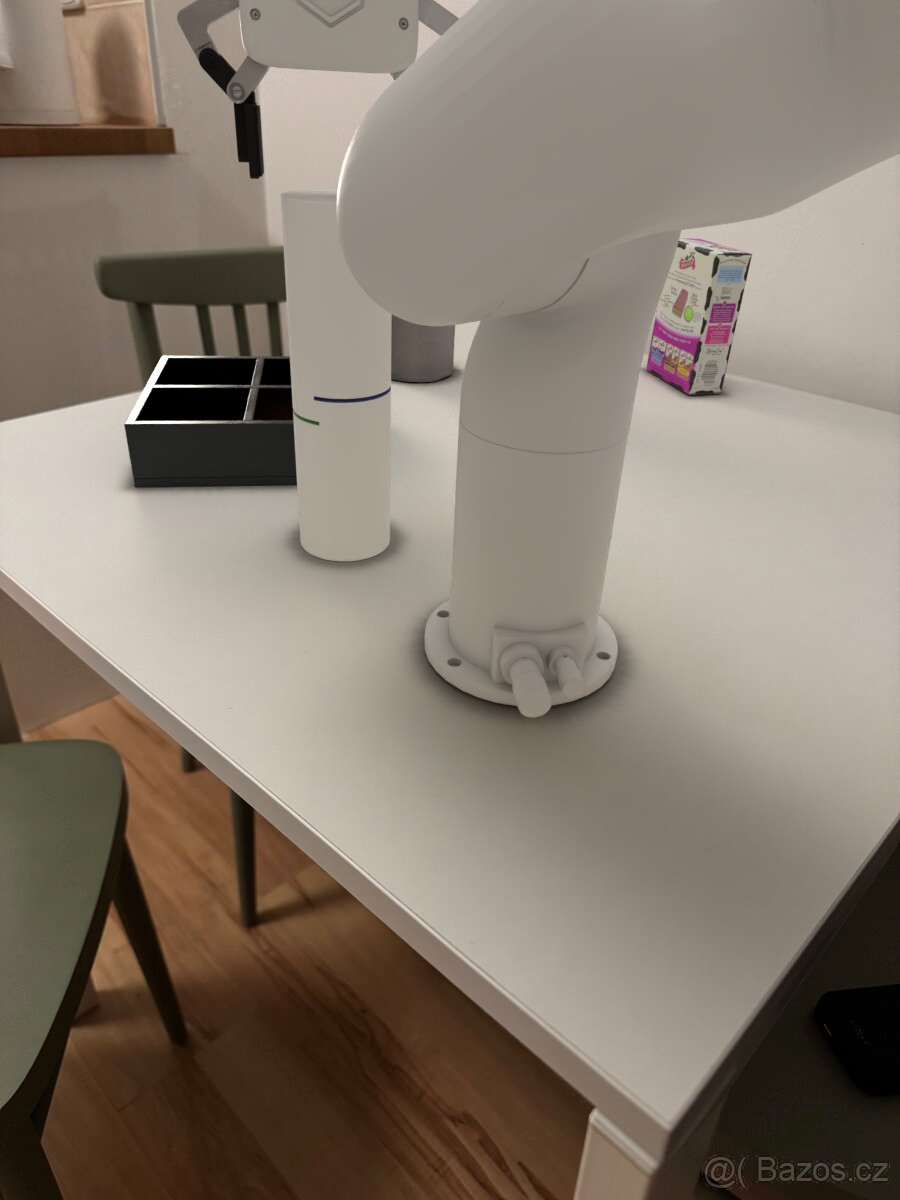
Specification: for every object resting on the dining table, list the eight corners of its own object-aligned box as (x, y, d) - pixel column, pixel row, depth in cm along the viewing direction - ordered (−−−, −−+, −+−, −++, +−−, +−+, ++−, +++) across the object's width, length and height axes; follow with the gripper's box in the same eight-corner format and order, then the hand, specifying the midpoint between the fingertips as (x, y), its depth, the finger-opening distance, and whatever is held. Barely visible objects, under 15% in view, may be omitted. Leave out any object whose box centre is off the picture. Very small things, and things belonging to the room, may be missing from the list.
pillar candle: (373, 360, 110) (372, 237, 102) (446, 360, 111) (451, 238, 103) (381, 384, 101) (381, 251, 94) (460, 382, 103) (467, 252, 95)
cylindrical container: (376, 566, 64) (375, 207, 51) (287, 554, 65) (263, 198, 52) (399, 525, 70) (404, 194, 57) (317, 514, 71) (303, 187, 58)
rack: (366, 483, 77) (366, 422, 74) (134, 487, 74) (123, 424, 71) (358, 408, 94) (357, 356, 91) (169, 409, 91) (162, 355, 88)
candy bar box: (724, 394, 104) (755, 253, 95) (688, 396, 102) (717, 253, 94) (677, 368, 113) (702, 236, 104) (644, 369, 111) (666, 236, 103)
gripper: (143, -215, 40) (186, 181, 49) (497, -180, 43) (475, 191, 52) (167, -177, 47) (201, 168, 56) (474, -149, 49) (459, 178, 58)
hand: (333, 179), depth 54 cm, fingers open, 9 cm apart
